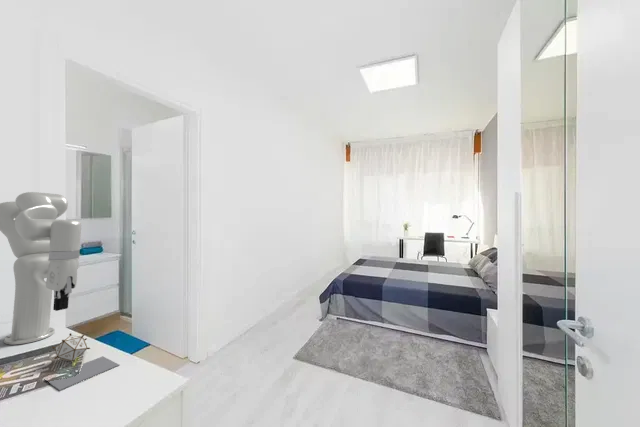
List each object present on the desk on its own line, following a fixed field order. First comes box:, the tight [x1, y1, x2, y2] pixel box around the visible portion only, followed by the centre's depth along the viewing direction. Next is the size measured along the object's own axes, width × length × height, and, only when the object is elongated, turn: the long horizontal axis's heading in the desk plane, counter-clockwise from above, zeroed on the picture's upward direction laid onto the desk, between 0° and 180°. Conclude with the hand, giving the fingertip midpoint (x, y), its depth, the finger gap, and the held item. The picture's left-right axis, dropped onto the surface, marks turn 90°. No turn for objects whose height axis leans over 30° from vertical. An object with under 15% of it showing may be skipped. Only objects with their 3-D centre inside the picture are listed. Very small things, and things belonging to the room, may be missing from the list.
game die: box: [51, 332, 91, 362], centre depth 82 cm, size 9×8×10 cm
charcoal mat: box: [48, 356, 120, 392], centre depth 76 cm, size 10×14×1 cm
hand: (60, 309), depth 87 cm, fingers closed
